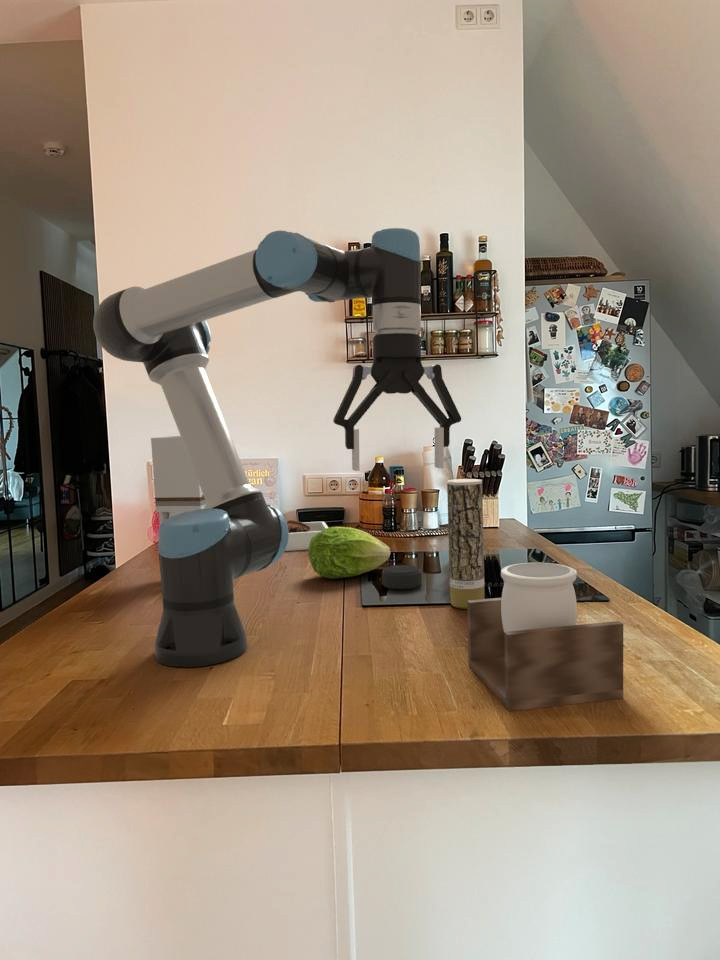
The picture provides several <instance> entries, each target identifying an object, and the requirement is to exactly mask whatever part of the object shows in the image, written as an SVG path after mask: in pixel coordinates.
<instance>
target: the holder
mask: <svg viewBox="0 0 720 960" xmlns="http://www.w3.org/2000/svg"><path fill="white" fill-rule="evenodd" d="M501 600H502V597H494V598H493V597H492V598H485V599H480V600H468V601H467V609H466V610H467V611H466V612H467V613H466V615H467V644H468V646H467V648H468V649H467V653H468V667H469V668H470V669H471V670H472V671H473V672H474V674H475V675H476V676H477V677H478V679H480V680H481V682H482V683H483V684H484V685H485V686H486V687H487V688H488V689H489V690H490V691H491V692H492V694H493V695H494V696H495V698H497V699H498V700H499V702H500V703H501V704H502V705H503V706H504V708H505V709H506V710H507V711H508V712H513V711H514V712H515V711H516V712H517V711H524V710H530V709H531V710H532V709H539V708H548V707H550V708H551V707H558V706H568V705H575V704H584V703H594V702H601V701H602V702H603V701H610V700H618V699H619V700H620V699H624V623H622V622H621V621H619V620H617V621H616V620H615V621H607V622H596V623H595V622H594V623H583V624H576V625H572V626H561V627H550V628H540V629H529V630H519V631H508V632H504V630H503V624H502V616H501Z"/></svg>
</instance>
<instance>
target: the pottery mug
mask: <svg viewBox="0 0 720 960" xmlns="http://www.w3.org/2000/svg"><path fill="white" fill-rule="evenodd" d="M286 522H287V526H288V533H297V532H309V530H310V527H309V526H307V525H306V524H304V523H305V522H301V521H297V520H294V519H293V520H288V521H286Z"/></svg>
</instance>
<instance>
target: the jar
mask: <svg viewBox="0 0 720 960" xmlns="http://www.w3.org/2000/svg"><path fill="white" fill-rule="evenodd" d="M577 573H578V572H577V570H576V569H575V568H573V567H571V566H568V565H563V564H559V563H553V562H551V563H550V562H523V563H520V562H519V563H514V564H510V565H507V566H504V567H502V568H501V570H500V577H501V578H502V580H503V581H504V583H503V584H504V585H503V587H502V592H501V598H502V600H501V616H502V624H503V630H504V632H508V631H519V630H529V629H540V628H550V627H561V626H572V625H577V623H578V604H577V602H578V601H577V596H576V592H575V588H574V584H573V583H574V581H576V580H577Z"/></svg>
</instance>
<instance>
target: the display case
mask: <svg viewBox="0 0 720 960" xmlns="http://www.w3.org/2000/svg"><path fill="white" fill-rule="evenodd" d="M150 445H151V458H152V471H153V475H152V476H153V485H154V486H153V490H154V501H155V512H156V513H158V520H159V523H158V524H159V526H160V525H161V524H162V523H163V522H164V521H165V520H166V519H168V518H170V517H172V516H174V515H177V514H180V513H184V512H188V511H189V512H192V511H194V510H199V509H204V507H205V505H206V500H205V497H204V495H203V492H202V490H201V487H200V484H199V482H198V479H197V477H196V474H195V472H194V469H193V466H192V464H191V461H190V459H189V456H188V454H187V451H186V448H185V446H184V443H183V441H182V438H181V436H180V435H169V436H160V437H150ZM160 586H161V585H160ZM161 588H162V586H161Z"/></svg>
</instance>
